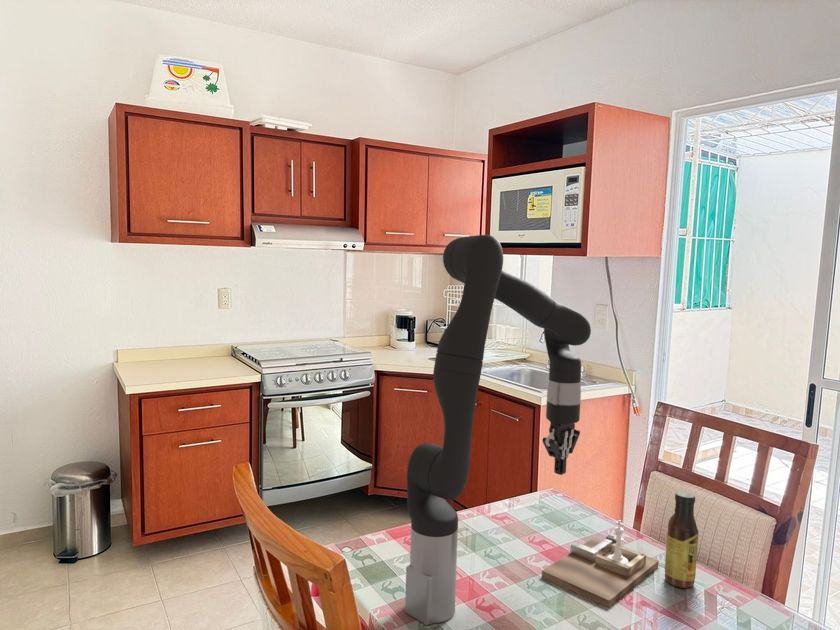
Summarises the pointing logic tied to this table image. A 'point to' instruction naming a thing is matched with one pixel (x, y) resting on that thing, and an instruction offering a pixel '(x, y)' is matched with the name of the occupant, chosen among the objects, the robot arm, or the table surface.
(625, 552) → the socket board
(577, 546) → the keeper bolt
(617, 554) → the chess piece
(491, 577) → the table surface
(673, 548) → the sauce bottle
